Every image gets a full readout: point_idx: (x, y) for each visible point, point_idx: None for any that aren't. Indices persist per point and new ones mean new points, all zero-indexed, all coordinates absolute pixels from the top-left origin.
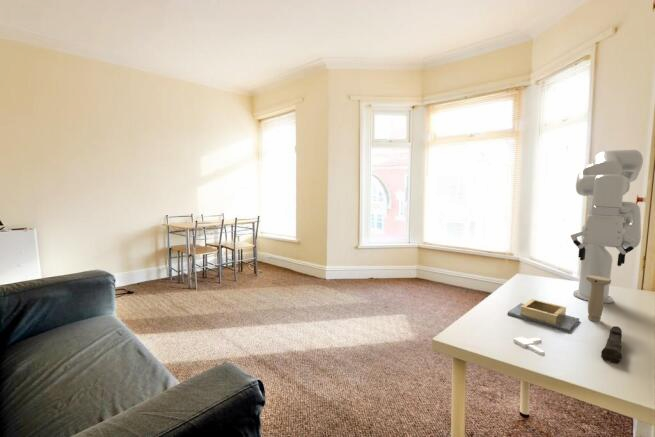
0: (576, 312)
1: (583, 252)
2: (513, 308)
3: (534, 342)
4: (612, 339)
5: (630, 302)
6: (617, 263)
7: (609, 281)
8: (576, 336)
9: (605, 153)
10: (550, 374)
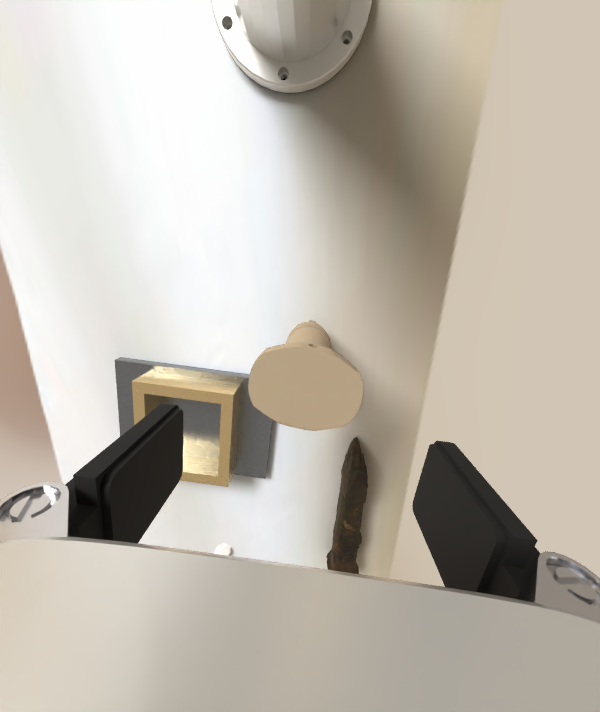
0: (261, 296)
1: (139, 537)
2: (120, 423)
3: None
4: (346, 529)
5: None
6: (418, 523)
7: (354, 411)
8: (282, 481)
9: None
10: None
